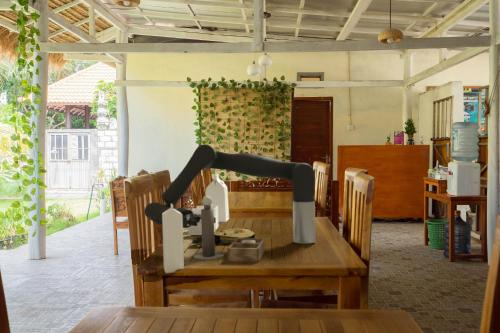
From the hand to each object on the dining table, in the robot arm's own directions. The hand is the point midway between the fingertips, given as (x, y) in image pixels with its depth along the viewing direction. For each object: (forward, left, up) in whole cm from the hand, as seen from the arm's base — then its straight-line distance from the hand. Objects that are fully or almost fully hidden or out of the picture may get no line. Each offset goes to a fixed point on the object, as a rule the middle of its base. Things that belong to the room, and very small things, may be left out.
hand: (205, 221), depth 169 cm
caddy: (-15, 0, -13) cm, 20 cm away
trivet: (-1, +1, -13) cm, 13 cm away
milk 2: (+15, -89, -14) cm, 91 cm away
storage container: (+15, -56, -14) cm, 59 cm away
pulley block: (-1, -29, -14) cm, 32 cm away
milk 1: (+7, +18, -14) cm, 23 cm away
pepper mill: (-1, 0, -12) cm, 12 cm away
